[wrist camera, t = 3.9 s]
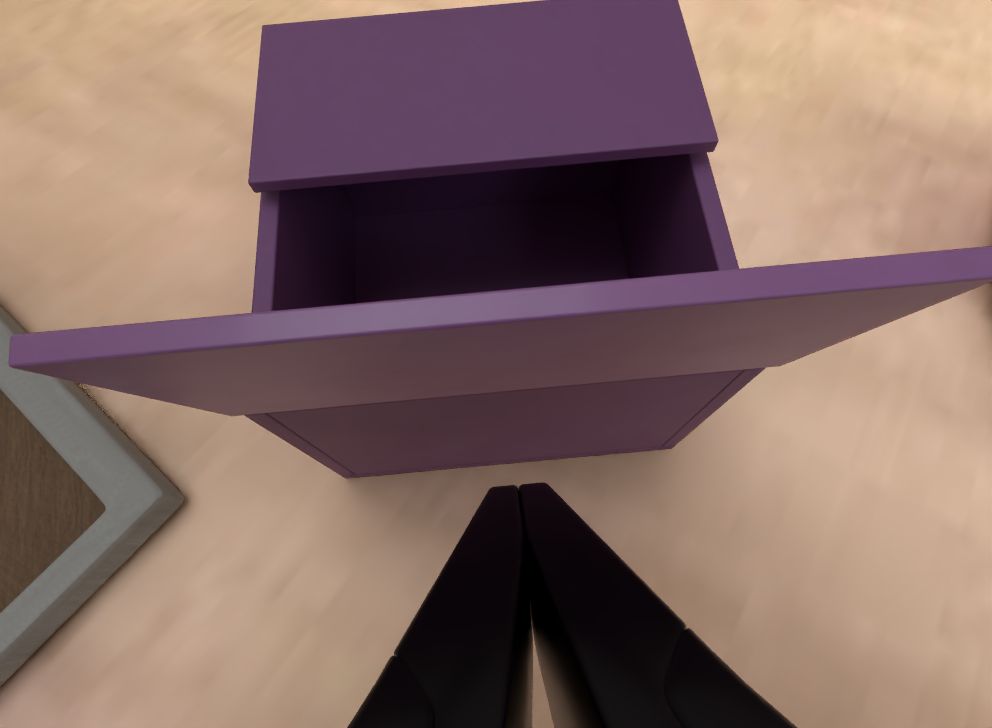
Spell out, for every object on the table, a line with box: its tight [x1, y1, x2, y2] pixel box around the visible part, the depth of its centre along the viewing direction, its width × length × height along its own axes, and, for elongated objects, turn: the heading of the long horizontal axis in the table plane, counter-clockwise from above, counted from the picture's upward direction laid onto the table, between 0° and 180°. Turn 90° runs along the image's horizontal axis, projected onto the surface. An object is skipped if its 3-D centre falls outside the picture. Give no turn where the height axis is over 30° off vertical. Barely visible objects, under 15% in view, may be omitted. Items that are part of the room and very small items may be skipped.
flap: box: [8, 246, 992, 416], centre depth 9 cm, size 5×11×1 cm
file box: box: [245, 0, 766, 478], centre depth 18 cm, size 11×12×9 cm
